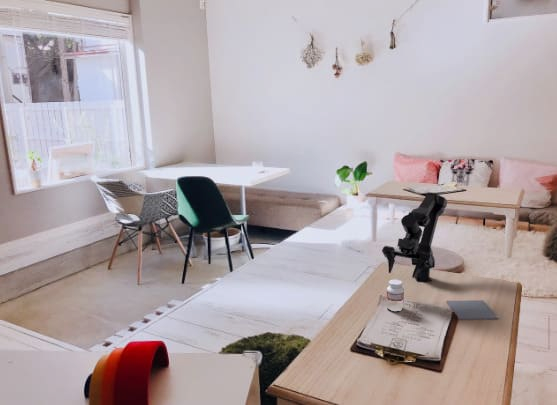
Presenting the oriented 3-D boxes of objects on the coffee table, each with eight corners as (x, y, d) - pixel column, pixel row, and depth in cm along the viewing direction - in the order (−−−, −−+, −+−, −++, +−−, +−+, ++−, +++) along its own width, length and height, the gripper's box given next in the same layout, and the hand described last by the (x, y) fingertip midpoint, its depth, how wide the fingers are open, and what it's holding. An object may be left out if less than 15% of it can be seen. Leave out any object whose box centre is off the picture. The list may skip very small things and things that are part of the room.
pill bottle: (393, 303, 184) (394, 277, 181) (406, 309, 179) (407, 282, 177) (383, 308, 180) (383, 281, 177) (396, 314, 175) (397, 286, 173)
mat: (446, 302, 184) (446, 300, 184) (482, 301, 184) (483, 300, 183) (458, 319, 170) (459, 318, 170) (498, 319, 170) (498, 317, 170)
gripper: (384, 226, 186) (372, 261, 180) (432, 233, 176) (421, 270, 170) (391, 239, 195) (379, 273, 189) (437, 247, 184) (426, 283, 178)
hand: (400, 275), depth 181 cm, fingers open, 9 cm apart
